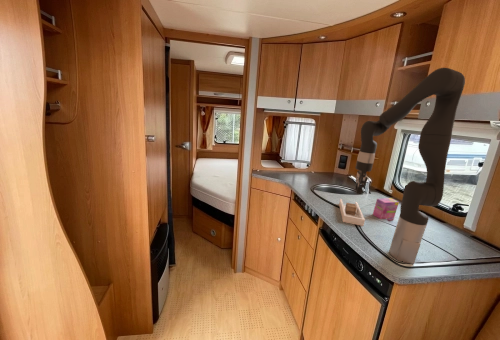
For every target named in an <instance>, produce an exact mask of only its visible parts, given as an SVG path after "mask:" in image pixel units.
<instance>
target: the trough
mask: <svg viewBox="0 0 500 340" xmlns="http://www.w3.org/2000/svg"><path fill="white" fill-rule="evenodd" d="M338 204H339V209H340V210H339V211H340V215H341V218H342V219H341V220H342V222H343V223H348V224H351V225H352V224H353V225H358V226H361V227H363V226H364V224H365V222H366V219H365V216H364V214H363V212H362V210H361V208H360V205H359V203H358V202H357V201H355V203H354V204H356V207H357V209H356V213H355V215H350V214H346V213H345V207H346V204H344V202H343V199H342V198H340V199H339V203H338Z"/></svg>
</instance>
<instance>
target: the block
mask: <svg viewBox="0 0 500 340" xmlns="http://www.w3.org/2000/svg"><path fill="white" fill-rule="evenodd" d="M345 205H346V207H345V213H346V214H350V215H355V213H356V209H357V207H356V204H355V203H350V202H346V203H345Z"/></svg>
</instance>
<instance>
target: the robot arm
mask: <svg viewBox="0 0 500 340" xmlns="http://www.w3.org/2000/svg"><path fill="white" fill-rule="evenodd" d="M465 84H466V77H465V76H464V74H463V72H462V73H461V72H460V71H458V70H455V69H452V68H450V67H440V68H437V69H435V70H434V71H432V72H431V73H428V75H427V76H425V78H423V79H422V81H420V82H419V83H418V84H417V85H416V86H415V87H413V89H411V90H410V91H409V92H408V93H407V94H406V95H405V96H404V97H402V99H400V100H399V101H397V102H396V103H395V104H394V105H392V106H390V107H389V108H388V109H386V110H385V111H384V112H382V113H381V114H380V115H379V117H378V118H379V119H378V120H376V121H375V120H367V121H365V122H364V123H363V124H362V126H361V128H360V138H361V139H360V141H361V145H360V148H359V152H358V155H357V159H356V162H355V169H356V170H357V172H356V178H355V188H354V190H355V191H356V194H357V195H361V194H362V192H363V188H365V186H366V182H367V180H368V174H367V172H368V173H369V172H371V171H372V170H373V165H374V162H375V157H376V151H377V147H378V143H377V141H375V140H374V137H378V136H381V135H382V134H384V133H385V132H386V131H388V130H389V129H390V128H391V127H392V126H393V125H395V124H396V123H398V122H400V121H402V120H403V119H404V118H405V117H407V116H408V115H409V114H410V113H411V112H412V111H413V110H414V108H415V107H416V106H417V105H418V104H419V103H420V102H422V101H424V100H425V99H427V98H429V97H431V96H433V95H434V96H435V103H434V108H433V111H432V113H431V115H430V117H429V118H428V120H427V121H426V122H425V124H424V125H423V127H422V129H421V131H420V135H419V141H418V152H419V155H420V157H421V159H422V161H423V163H424V165H425V168H426V179H425V181H417V180H413V181H412V180H411V181H410V182H407V184H406V186H405V187H404V189H403V195H402V200H401V202H400V203H401V204H400V208H399V209H400V210H399V211H400V213H399V217H398V220H397V224H396V227H395V230H394V234H393V237H392V241H391V243H390V247H389V250H388V251H389V252H388V253H389V254H390V256H392V257H393V258H395V260H396V259H397V260H396V261H398V262H402V261H403V263H406V264H407V263H408V264H411V265H415V262H416V260H417V256H418V252H419V250H420V248H421V242H422V241H423V240H422V239H423V236H424V235H425V231H426V228H427V225H428V222H429V217H428V216H427V215H426V213H424V212H421V211H419V208H420V206H422V207H423V206H425V207H436V206H438V205H439V204H440V203H441V201H442V200H443V196H444V188H445V187H444V186H445V173H446V165H447V159H448V155H449V149H450V145H451V142H452V137H453V136H452V135H453V129H454V125H455V120H456V115H457V110H458V107H459V102H460V100H461V97H462V95H463V91H464V87H465Z"/></svg>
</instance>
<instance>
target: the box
mask: <svg viewBox="0 0 500 340" xmlns="http://www.w3.org/2000/svg"><path fill="white" fill-rule="evenodd" d="M399 204H400V202H399V200H396V199H394V198H392V197H385V198H383V197H382V198H376V201H375V204H374V205H375V206H374V209H373V213H372V215H373V216H374V217H376V218H377V219H380V220H385V219H386V220H387V221H395V216H396V214H397V213H396V212H397V209H398V205H399Z"/></svg>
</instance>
